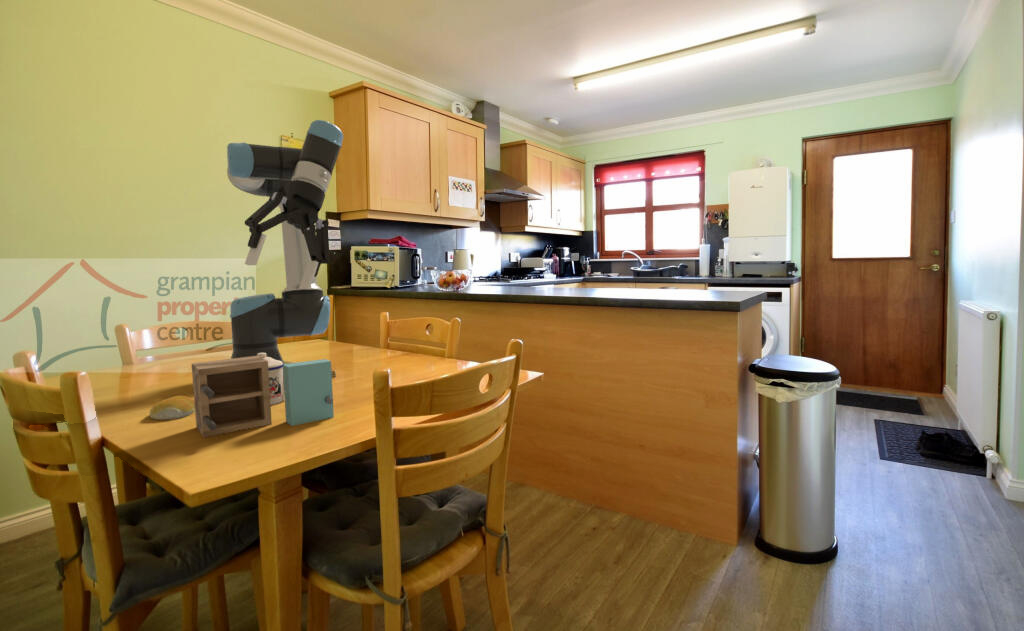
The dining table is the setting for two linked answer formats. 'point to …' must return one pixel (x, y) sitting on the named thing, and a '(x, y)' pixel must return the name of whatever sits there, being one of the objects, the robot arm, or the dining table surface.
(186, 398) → the bread roll
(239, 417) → the cabinet
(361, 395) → the dining table surface
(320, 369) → the door
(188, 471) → the dining table surface
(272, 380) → the teacup with lid
